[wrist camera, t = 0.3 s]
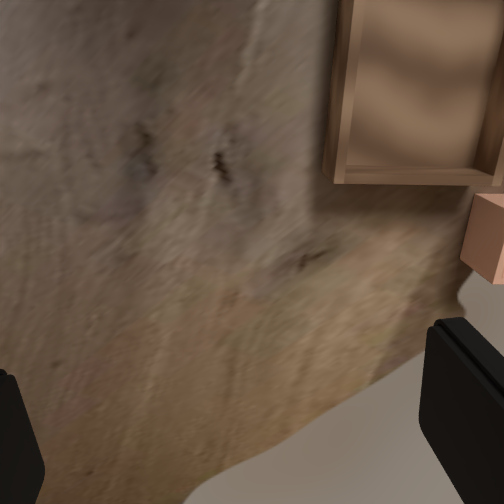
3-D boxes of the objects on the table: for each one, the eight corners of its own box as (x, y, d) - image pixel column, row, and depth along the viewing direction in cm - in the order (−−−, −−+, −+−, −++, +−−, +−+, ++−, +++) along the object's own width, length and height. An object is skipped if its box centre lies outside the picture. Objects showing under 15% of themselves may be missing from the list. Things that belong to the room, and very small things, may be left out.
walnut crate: (346, -78, 33) (364, -95, 29) (529, -64, 34) (568, -79, 30) (321, 171, 40) (333, 183, 36) (474, 174, 41) (500, 186, 37)
